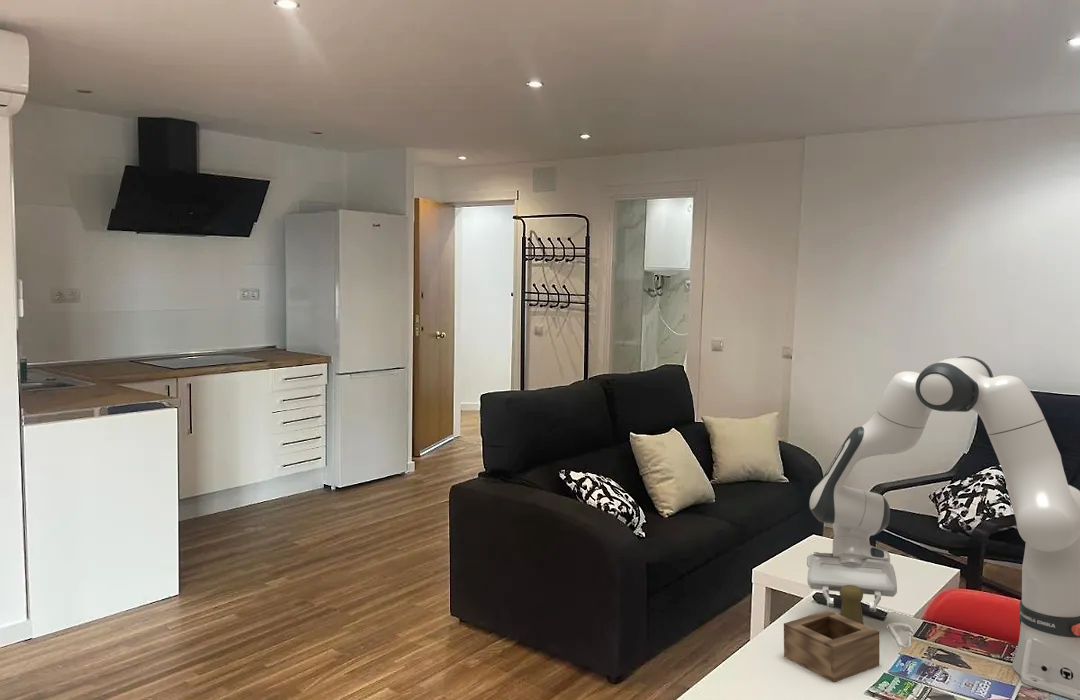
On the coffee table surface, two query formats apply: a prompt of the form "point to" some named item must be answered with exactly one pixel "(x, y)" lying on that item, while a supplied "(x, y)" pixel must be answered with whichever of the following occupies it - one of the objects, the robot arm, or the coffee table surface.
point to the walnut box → (831, 645)
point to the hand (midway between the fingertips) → (851, 608)
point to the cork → (851, 603)
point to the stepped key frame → (895, 636)
